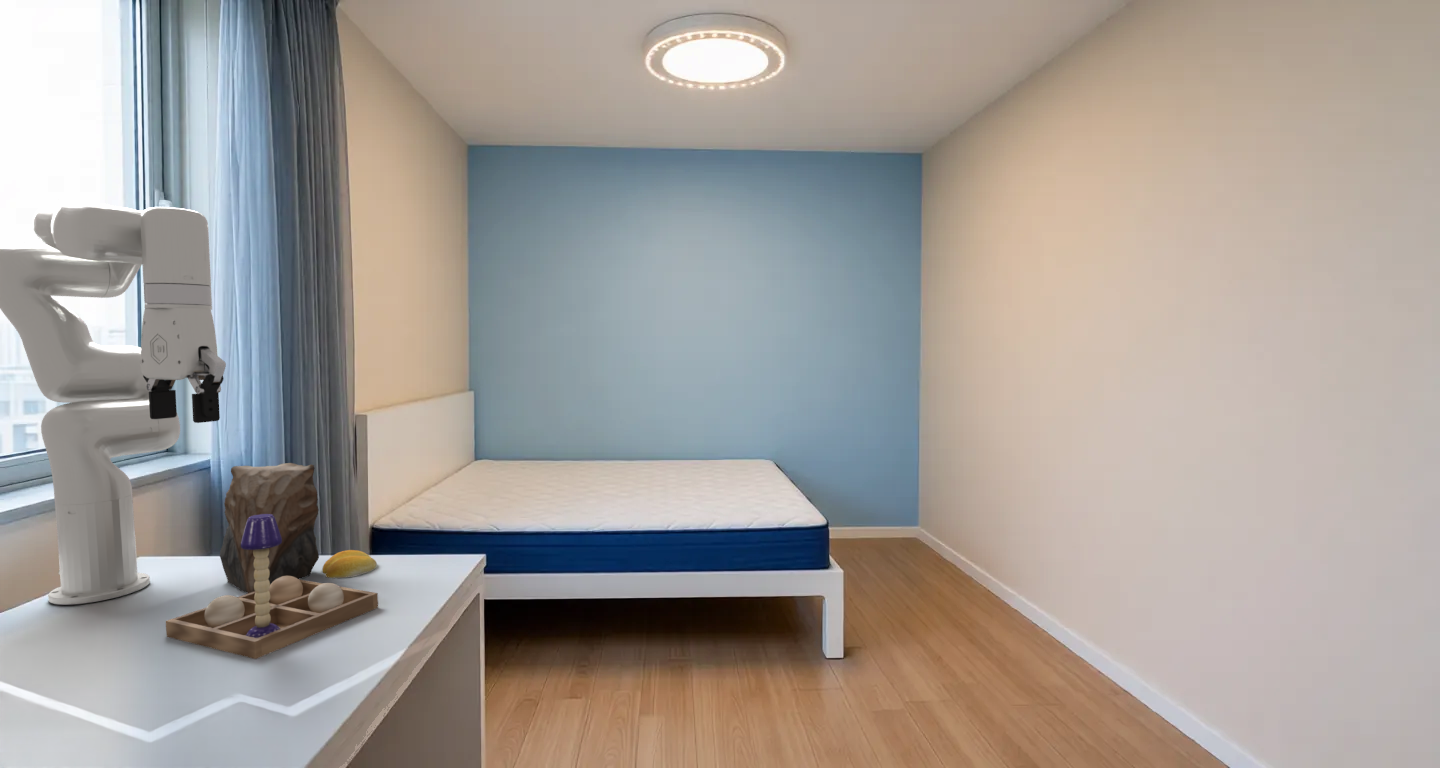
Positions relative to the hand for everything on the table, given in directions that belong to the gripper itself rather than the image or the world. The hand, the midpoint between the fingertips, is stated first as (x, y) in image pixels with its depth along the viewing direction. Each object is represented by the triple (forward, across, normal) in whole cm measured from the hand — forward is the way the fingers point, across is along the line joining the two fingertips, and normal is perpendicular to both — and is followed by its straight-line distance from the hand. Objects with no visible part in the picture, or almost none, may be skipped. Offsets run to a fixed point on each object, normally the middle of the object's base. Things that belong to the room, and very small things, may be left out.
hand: (184, 419), depth 100 cm
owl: (+30, -7, +15) cm, 34 cm away
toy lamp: (+29, +16, 0) cm, 33 cm away
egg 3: (+29, +16, +8) cm, 34 cm away
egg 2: (+29, +8, +8) cm, 31 cm away
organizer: (+30, +12, +4) cm, 32 cm away
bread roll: (+30, +1, +25) cm, 39 cm away
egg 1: (+29, +8, 0) cm, 30 cm away
